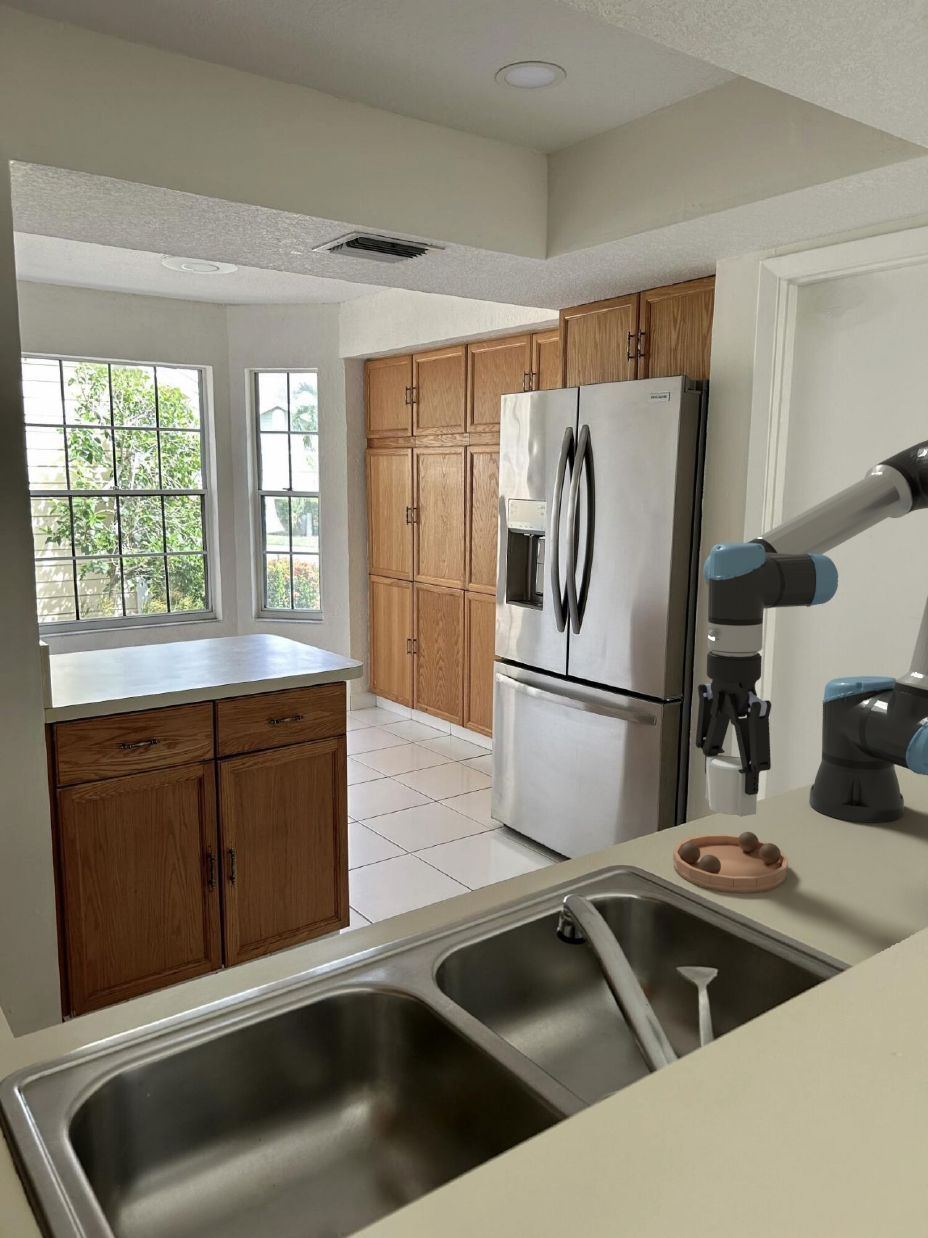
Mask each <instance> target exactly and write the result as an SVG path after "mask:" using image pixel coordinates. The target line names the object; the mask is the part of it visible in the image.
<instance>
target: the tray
mask: <svg viewBox="0 0 928 1238" xmlns="http://www.w3.org/2000/svg"><path fill="white" fill-rule="evenodd" d="M739 836H740V835H732V834H704V835H698V836H693V837H692V836H691V837H689V838H686V839H684V840H681V841H680V842H678V843H676V846H675V847H674V849H673V852H672V854H673V855H672V860H673V863H674V864H673V867H674V871H675V872H676V873H677V874H678V875H679V877H681V878H683V880H685V881H687V882H689V883H691V884H693V885H694V886H695V885H696V886H698V887H701V888H705V889H706V890H712V891H717V892H721V893H732V894H754V893H763V892H767V891H771V890H774V889H776V888H778V887H780V886H782V885H783V884H784V883H785V882H786V880H787V876H788V866H789V864H788V863H789V858H788V857H787V856H786V855H785V853H784V852H783V851H782V850H780V849H779V850H780V852H781V857H780V859H779V861H778V862H776V863H774V864H767V863H765V862H764V861H762V859H761V858H760V855H759V851H760V848H761V847H762V846H763V845H764V844H766V843H767V842H765V841H762V840H759V845H758V847H757V849H756V850H754V851H752V852H746V851H744V850H742V849H741V848H740V846H739V844H738V839H739ZM685 843H694V844H695V845H697V846H698V848H699V849H700V858H699V860H698V861H697V862H695V863H691V864H690V863H686V862H684V861H683V860H682V859H681V857H680V848H681V847H682V845H684V844H685ZM705 855H713V856H715V857H717V858H718V859H719V861H720V863H721V869H720V872H719V873H718V874H712V873H709V872H706V871H703V870H700V867H699V863H700V860H701V858H702V857H704V856H705Z"/></svg>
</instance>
